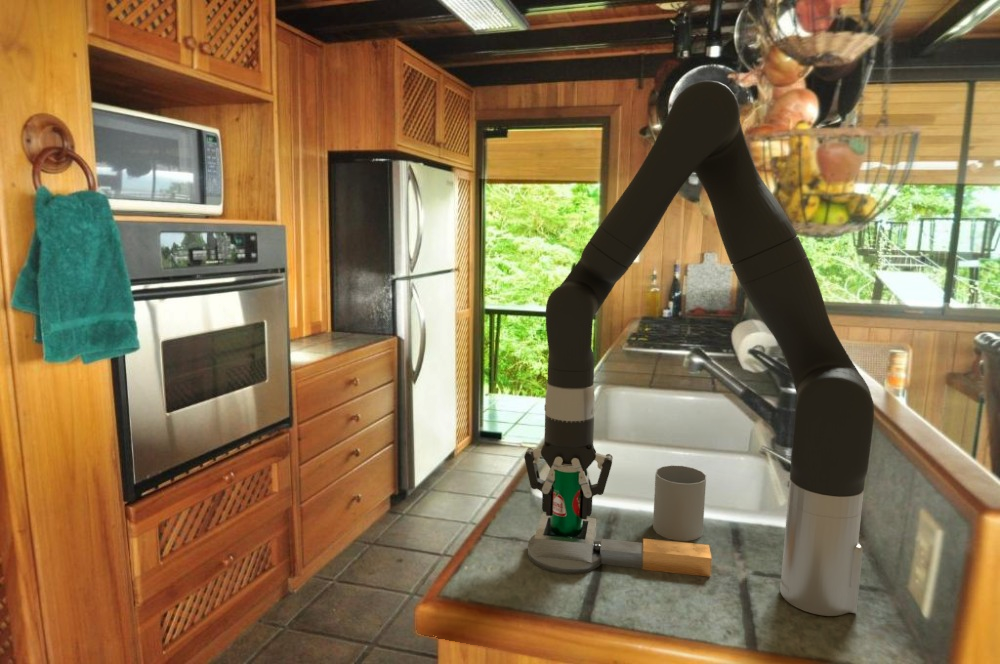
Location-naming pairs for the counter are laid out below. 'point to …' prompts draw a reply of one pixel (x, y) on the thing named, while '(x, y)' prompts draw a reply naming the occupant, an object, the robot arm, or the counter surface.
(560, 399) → the robot arm
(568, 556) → the ratchet
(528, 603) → the counter surface
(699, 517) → the cup
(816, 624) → the counter surface
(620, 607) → the counter surface
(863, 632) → the counter surface
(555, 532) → the soda can
